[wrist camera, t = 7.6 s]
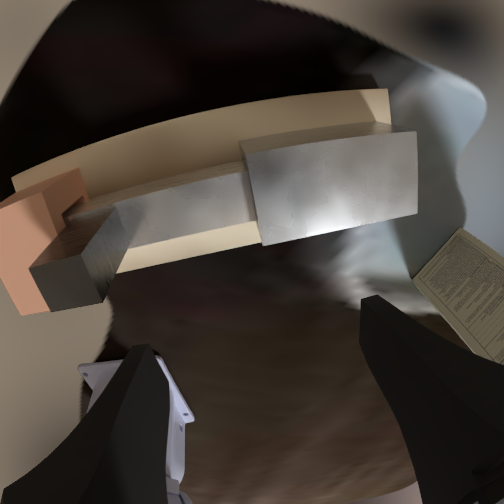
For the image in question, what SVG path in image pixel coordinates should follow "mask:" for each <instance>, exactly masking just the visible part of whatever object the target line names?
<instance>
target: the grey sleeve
mask: <svg viewBox="0 0 504 504" xmlns="http://www.w3.org/2000/svg"><path fill="white" fill-rule="evenodd" d="M239 147H240V152H241V157H242V160H245V162H246V164H247V168H248V173H249V178H250V183H251V188H252V194H253V199H254V204H255V210H256V215H257V220H256V221H255V222H256V226H257V229H258V232H259V235H260V238H261V241H262V244H263V246H266V245H270V244H275V243H280V242H285V241H289V240H294V239H299V238H304V237H308V236H313V235H318V234H322V233H327V232H332V231H337V230H341V229H346V228H351V227H356V226H361V225H365V224H370V223H375V222H380V221H384V220H389V219H394V218H399V217H404V216H408V215H413V214H417V210H418V152H417V131H414V130H410V129H407V128H403V127H399V126H395V125H391V124H387V123H382V122H378V121H372V122H361V123H351V124H342V125H334V126H326V127H318V128H311V129H304V130H297V131H291V132H284V133H278V134H272V135H267V136H261V137H256V138H250V139H245V140H240V141H239Z"/></svg>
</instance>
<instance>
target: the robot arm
mask: <svg viewBox="0 0 504 504" xmlns="http://www.w3.org/2000/svg"><path fill="white" fill-rule="evenodd" d="M359 343H360V346H361V348H362V351H363V354H364V356H365V359H366V361H367V364H368V366H369V368H370V370H371V372H372V374H373V376H374V377H375V379H376V381H377V383H378V385H379V387H380V389H381V390H382V392H383V394H384V396H385V398H386V400H387V402H388V403H389V405H390V407H391V409H392V411H393V413H394V415H395V417H396V419H397V421H398V423H399V426H400V429H401V431H402V434H403V437H404V440H405V442H406V445H407V448H408V451H409V454H410V457H411V460H412V463H413V467H414V470H415V474H416V478H417V481H418V485H419V489H420V494H421V498H422V503H423V504H504V365H502V364H500V363H497V362H494V361H491V360H489V359H486V358H483V357H481V356H479V355H476V354H474V353H472V352H470V351H468V350H466V349H464V348H461V347H459V346H457V345H455V344H454V343H452V342H450V341H448V340H446V339H445V338H443V337H441V336H439V335H438V334H436V333H434V332H433V331H431V330H429V329H428V328H426V327H424V326H423V325H421V324H420V323H418V322H417V321H415V320H414V319H412V318H411V317H409V316H408V315H406V314H405V313H403V312H402V311H400V310H399V309H398V308H396V307H395V306H393V305H392V304H390V303H389V302H388V301H386V300H385V299H383V298H382V297H380V296H379V295H374V296H370V297H367V298H363V299H361V313H360V336H359ZM78 370H79V372H80V374H81V375H82V376H83V378H84V379H85V380H86V382H87V383H88V385H89V386H90V387H91V389H92V390H93V393H92V396H91V400H90V404H89V407H88V411H87V414H86V415H85V417H84V418H83V419H82V420H81V422H80V423H79V424H78V425H77V427H76V428H75V429H74V430H73V431H72V432H71V433H70V435H69V436H68V437H67V438H66V439H65V440H64V441H63V442H62V443H61V444H60V445H59V446H58V447H57V448H56V449H55V450H54V451H53V452H52V453H51V454H50V455H49V456H48V457H47V458H45V459H44V460H43V461H42V462H41V463H40V464H38V465H37V466H36V467H35V468H33V469H32V470H31V471H30V472H28V473H27V474H26V475H24V476H23V477H21V478H20V479H18V480H17V481H15V482H14V483H12V484H11V485H9V486H8V487H6V488H4V490H3V494H2V499H1V503H0V504H193V503H192V502H191V500H190V498H189V497H188V496H187V495H186V494H185V493H183V492H179V483H180V482H181V480H182V478H183V475H184V460H185V423H188V422H193V421H194V415H193V414H192V412H191V410H190V409H189V407H188V405H187V403H186V402H185V400H184V398H183V396H182V395H181V393H180V391H179V389H178V387H177V386H176V384H175V382H174V380H173V378H172V377H171V375H170V373H169V371H168V369H167V367H166V365H165V363H164V361H163V360H162V358H161V357H160V356H157V355H154V353H153V351H152V349H151V347H150V345H149V344H143V345H136V346H132V348H131V349H130V350H129V352H128V353H127V355H126V356H125V358H124V359H123V360H114V361H106V362H96V363H87V364H80V365H79V366H78Z"/></svg>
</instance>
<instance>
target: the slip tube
mask: <svg viewBox="0 0 504 504" xmlns="http://www.w3.org/2000/svg"><path fill="white" fill-rule="evenodd" d="M61 215H62V218H63V220H64V223H65V226H66V227H65V228H64V229H63V230H62V231H61V232H60V233H59V234H58V235H57V236H56V237H55V239H54V240H53V241H52V242H51V243H50V244H49V245H48V246H47V247H46V248H45V250H44V251H43V252H42V253H41V254H40V255H39V256H38V258H37V259H36V260H35V261H34V262H33V263H32V265H31V266H30V267H29V268H28V269H29V271H30V273H31V275H32V277H33V279H34V281H35V283H36V285H37V287H38V289H39V291H40V293H41V295H42V297H43V298H44V300H45V302H46V304H47V306H48V308H49V309H50V311H51V312H55V311H60V310H66V309H71V308H77V307H82V306H88V305H93V304H98V303H103V301H104V299H105V297H106V294H107V292H108V290H109V288H110V285H111V283H112V281H113V279H114V277H115V274H116V272H117V270H118V268H119V266H120V264H121V262H122V260H123V258H124V255H125V253H126V251H127V249H131V248H135V247H139V246H144V245H148V244H152V243H157V242H161V241H165V240H170V239H174V238H178V237H183V236H187V235H192V234H196V233H201V232H205V231H210V230H214V229H219V228H224V227H228V226H233V225H237V224H242V223H247V222H252V221H256V220H257V215H256V210H255V204H254V199H253V194H252V188H251V183H250V178H249V173H248V168H247V164H246V162H245V160H241V161H236V162H231V163H227V164H222V165H217V166H213V167H208V168H204V169H200V170H195V171H191V172H187V173H183V174H179V175H175V176H171V177H167V178H163V179H159V180H155V181H151V182H148V183H144V184H140V185H137V186H133V187H129V188H126V189H122V190H119V191H116V192H112V193H109V194H105V195H102V196H99V197H96V198H92V199H89V200H86V201H83V202H80V203H77V204H74V205H71V206H70V207H69V208H68V209H66V210H65V211H64V212H63V213H62V214H61Z"/></svg>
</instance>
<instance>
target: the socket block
mask: <svg viewBox="0 0 504 504" xmlns="http://www.w3.org/2000/svg"><path fill="white" fill-rule="evenodd" d="M86 200H89V198H88V195H87V192H86V189H85V186H84V183H83V179H82V176H81V173H80V170H79V168H76V169H73V170H70V171H68V172H65V173H62V174H60V175H57V176H55V177H52V178H49V179H47V180H44V181H42V182H39V183H37V184H35V185H32V186H30V187H27V188H25V189H23V190H20V191H18V192H16V193H14V194H13V195H11V196H10V197H8V198H7V199H5V200H4V201H2V202H1V203H0V278H1V280H2V282H3V284H4V286H5V288H6V290H7V292H8V294H9V295H10V297H11V299H12V301H13V303H14V304H15V306H16V308H17V310H18V311H19V313H20V315H21V316H25V315H30V314H36V313H41V312H46V311H50V309H49V308H48V306H47V304H46V302H45V300H44V298H43V297H42V295H41V293H40V291H39V289H38V287H37V285H36V283H35V281H34V279H33V277H32V275H31V273H30V271H29V269H28V268H29V267H30V266H31V265H32V263H33V262H34V261H35V260H36V259H37V258H38V256H39V255H40V254H41V253H42V252H43V251H44V250H45V248H46V247H47V246H48V245H49V244H50V243H51V242H52V241H53V240H54V239H55V237H56V236H57V235H58V234H59V233H60V232H61V231H62V230H63V229H64V228H65V227H66V226H65V223H64V220H63V218H62V215H61V214H62V213H63V212H64V211H65V210H66V209H68V208H69V207H70V206H71V205H74V204H77V203H80V202H83V201H86Z"/></svg>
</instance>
